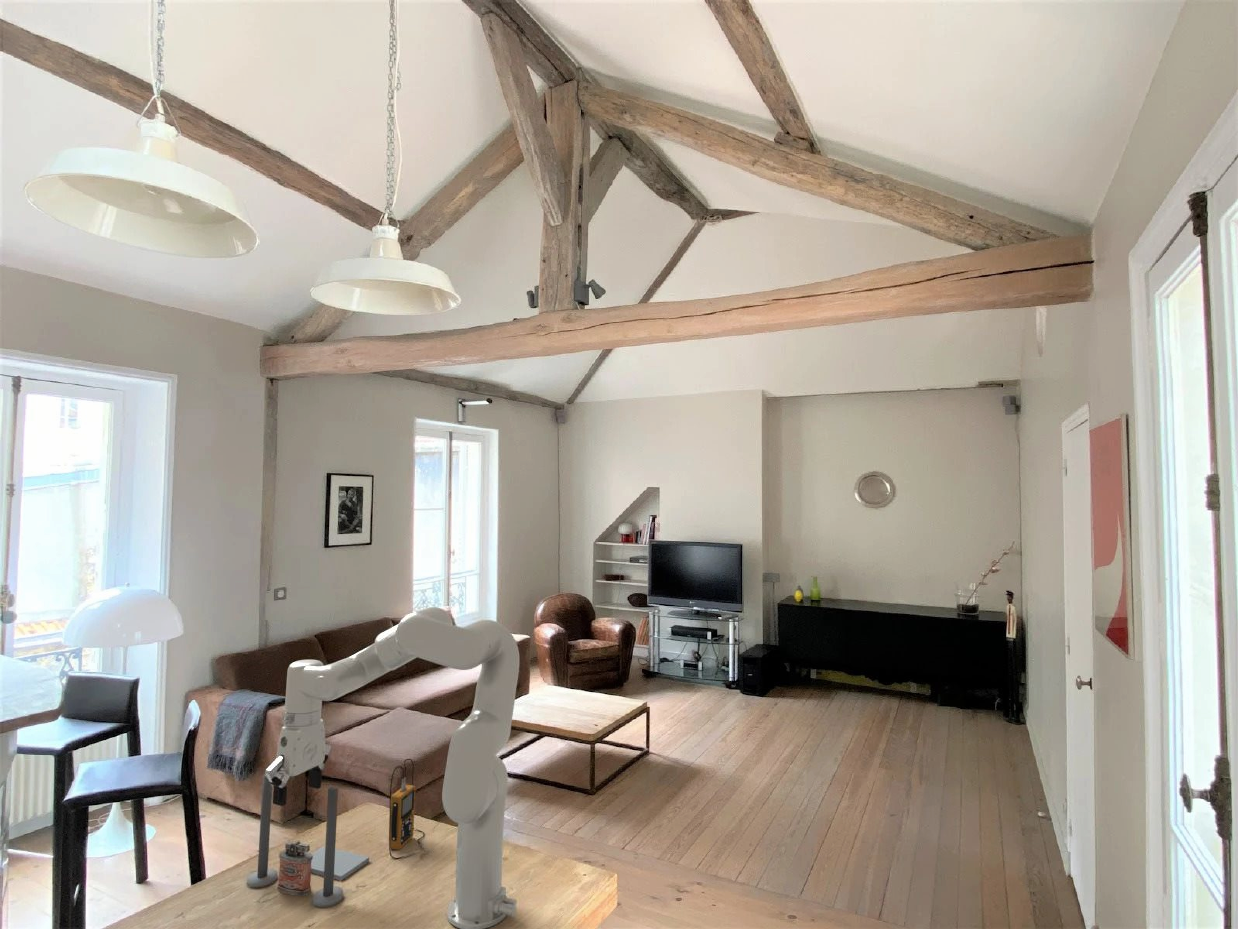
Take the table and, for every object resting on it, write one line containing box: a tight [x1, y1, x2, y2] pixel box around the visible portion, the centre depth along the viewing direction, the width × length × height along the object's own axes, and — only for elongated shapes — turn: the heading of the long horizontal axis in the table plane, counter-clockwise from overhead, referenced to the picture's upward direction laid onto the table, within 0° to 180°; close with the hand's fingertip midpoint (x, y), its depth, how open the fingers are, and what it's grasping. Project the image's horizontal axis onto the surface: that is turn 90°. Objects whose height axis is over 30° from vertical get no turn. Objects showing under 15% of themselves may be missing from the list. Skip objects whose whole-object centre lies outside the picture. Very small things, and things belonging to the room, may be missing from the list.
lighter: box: [277, 840, 313, 896], centre depth 145 cm, size 8×3×10 cm, turn 73°
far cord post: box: [246, 773, 278, 888], centre depth 149 cm, size 6×6×23 cm
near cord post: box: [312, 786, 344, 908], centre depth 142 cm, size 6×6×23 cm
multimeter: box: [388, 758, 428, 860], centre depth 166 cm, size 15×10×20 cm
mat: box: [311, 845, 370, 882], centre depth 155 cm, size 14×9×1 cm, turn 70°
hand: (297, 795), depth 146 cm, fingers open, 9 cm apart
